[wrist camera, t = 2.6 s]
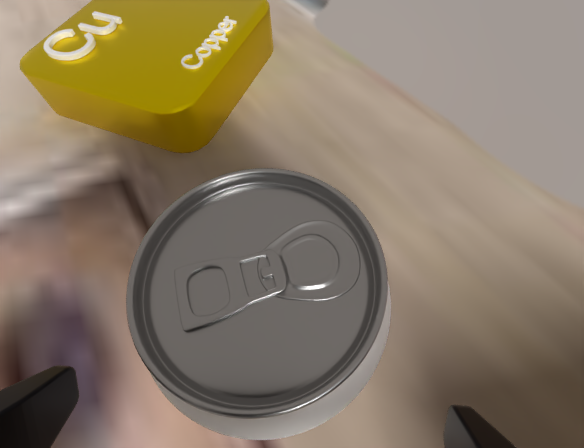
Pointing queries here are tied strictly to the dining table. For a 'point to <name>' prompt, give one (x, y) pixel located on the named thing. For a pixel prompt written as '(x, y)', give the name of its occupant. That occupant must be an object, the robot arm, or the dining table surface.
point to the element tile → (153, 66)
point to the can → (260, 303)
